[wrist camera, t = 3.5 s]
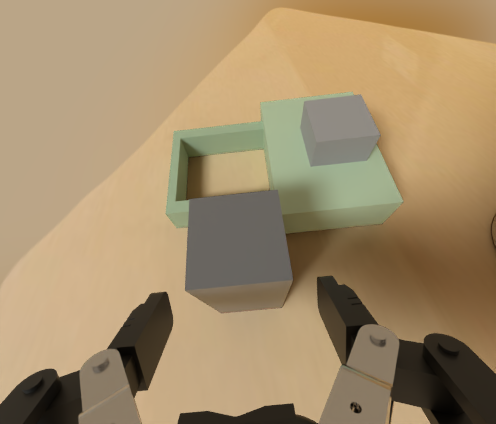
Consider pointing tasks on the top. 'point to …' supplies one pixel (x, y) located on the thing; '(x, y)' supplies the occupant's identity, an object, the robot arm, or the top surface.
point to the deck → (302, 162)
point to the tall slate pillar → (238, 252)
